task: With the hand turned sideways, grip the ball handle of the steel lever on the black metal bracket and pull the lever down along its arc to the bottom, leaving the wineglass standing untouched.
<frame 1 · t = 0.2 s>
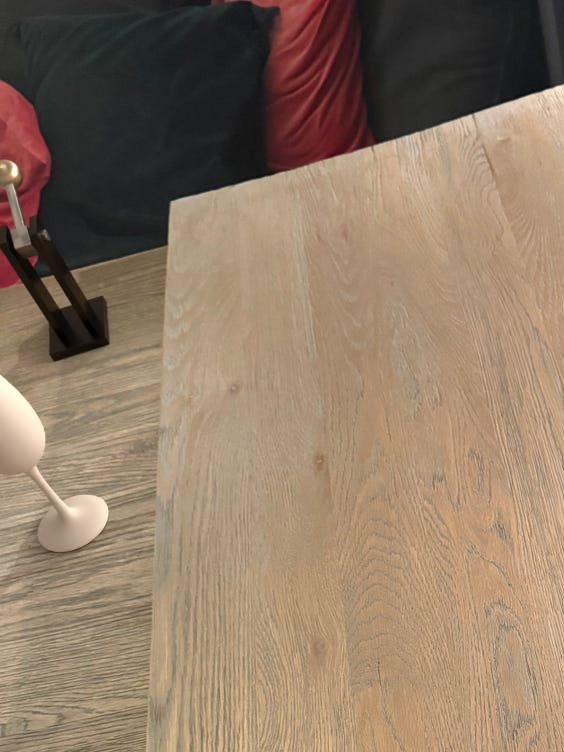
wineglass: (74, 524, 111), on the table
lever: (15, 207, 121), point 16 cm above the table, hinge at 25.0°
bracket: (80, 331, 132), on the table
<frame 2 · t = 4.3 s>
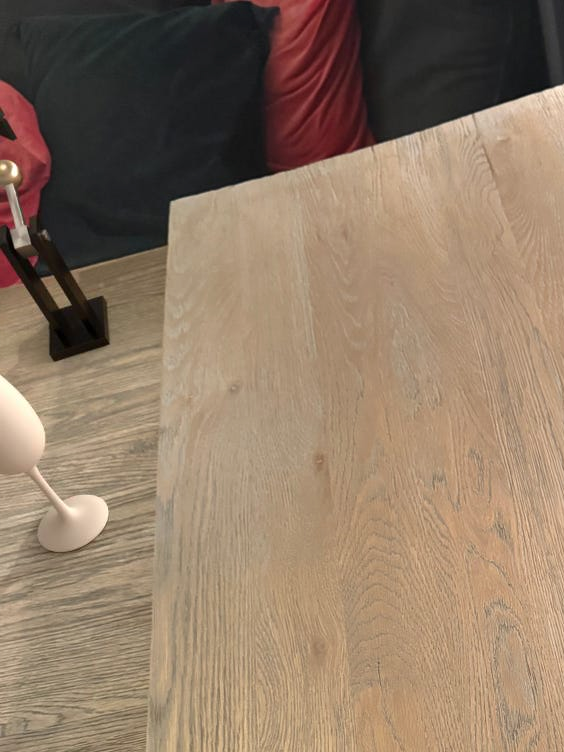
nothing on the table moved.
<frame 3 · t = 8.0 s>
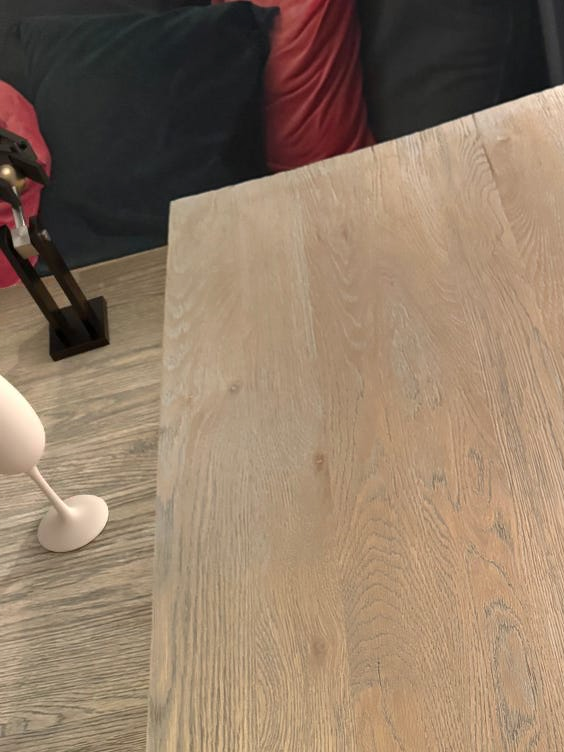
hand: (29, 185, 120), 18 cm above the table, tool horizontal, fingers closed on lever, 4 cm apart
lever: (17, 209, 122), point 16 cm above the table, hinge at 20.3°, touching gripper
everything else where it was.
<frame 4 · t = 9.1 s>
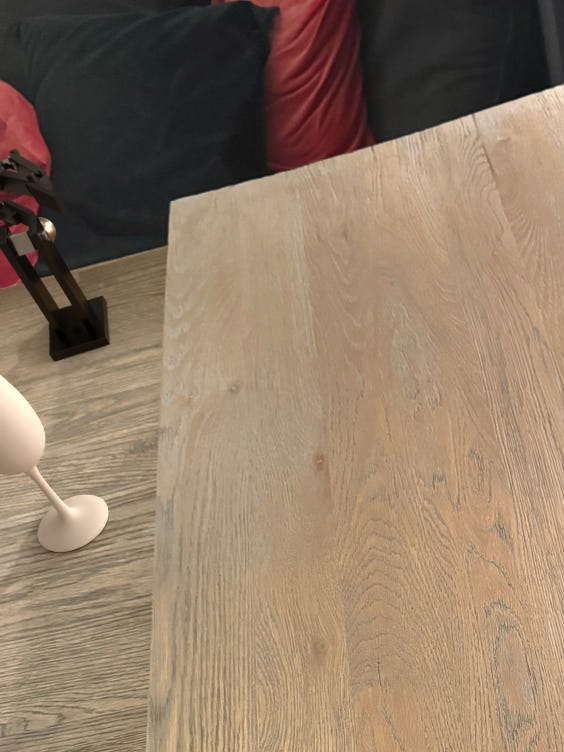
hand: (48, 213, 124), 14 cm above the table, tool horizontal, fingers open, 3 cm apart
lever: (34, 236, 125), point 12 cm above the table, hinge at -23.4°
everything else where it was.
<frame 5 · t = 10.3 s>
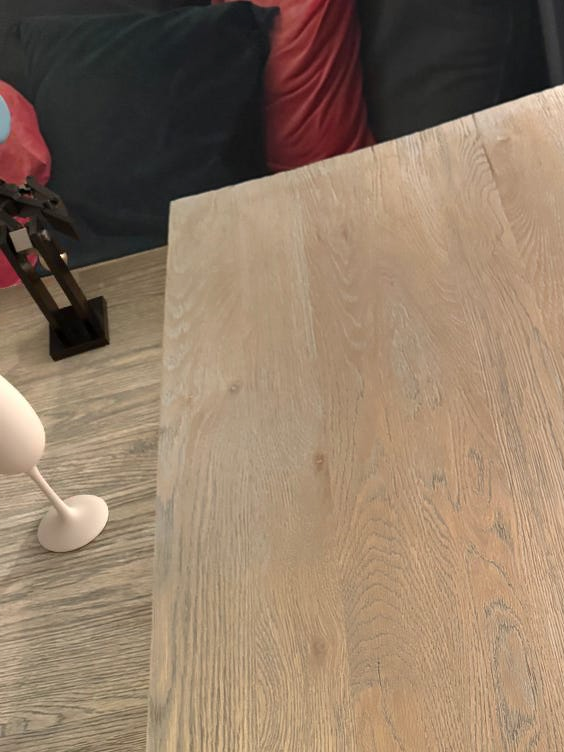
hand: (67, 237, 126), 10 cm above the table, tool horizontal, fingers open, 3 cm apart
lever: (40, 250, 126), point 10 cm above the table, hinge at -43.2°, touching gripper
everything else where it was.
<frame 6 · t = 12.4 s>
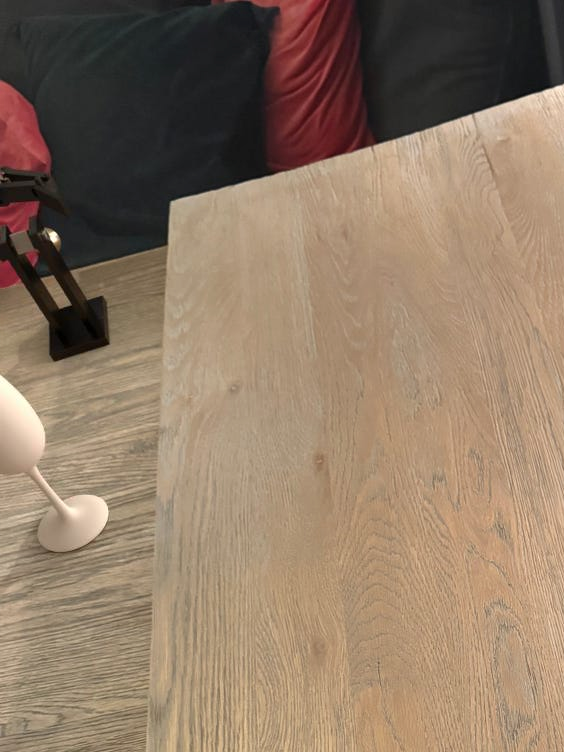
hand: (33, 229, 130), 10 cm above the table, tool horizontal, fingers open, 11 cm apart
lever: (36, 242, 125), point 11 cm above the table, hinge at -31.0°
everything else where it was.
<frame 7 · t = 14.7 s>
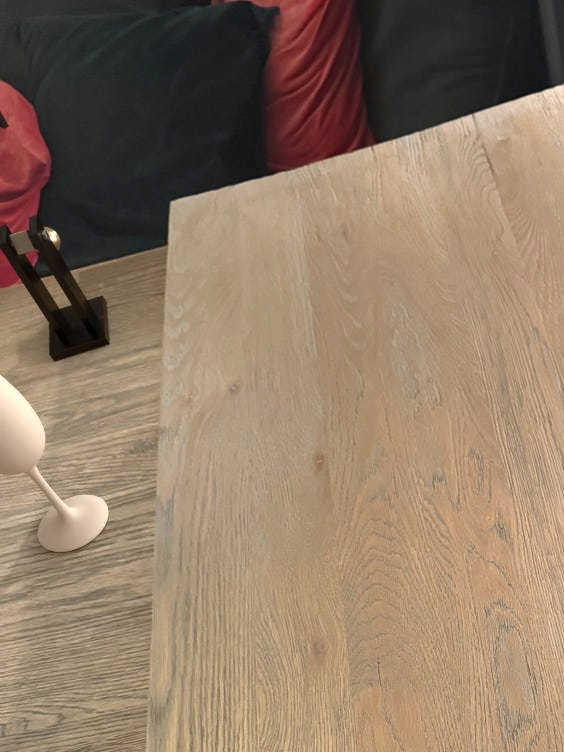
lever: (36, 241, 125), point 11 cm above the table, hinge at -30.5°
everything else where it was.
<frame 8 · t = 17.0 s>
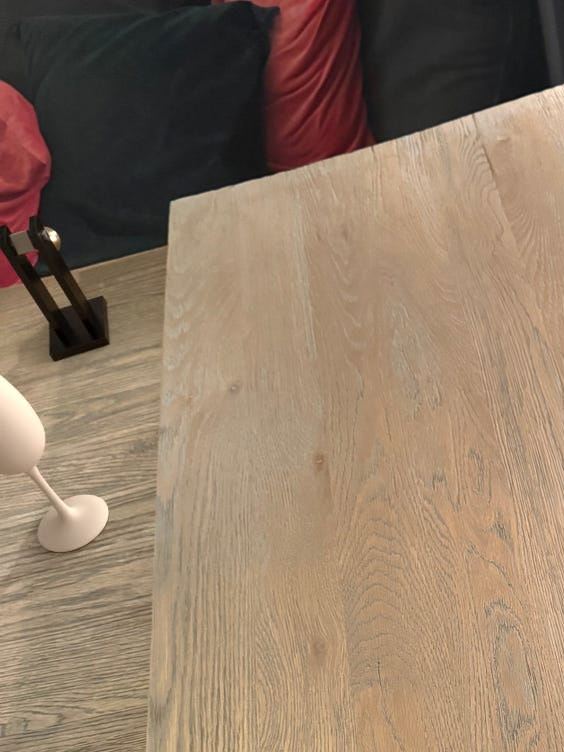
nothing on the table moved.
at the end: lever at -30° (first picture: +25°); wineglass moved 0.2 cm from its start; wineglass tilted 0° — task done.
